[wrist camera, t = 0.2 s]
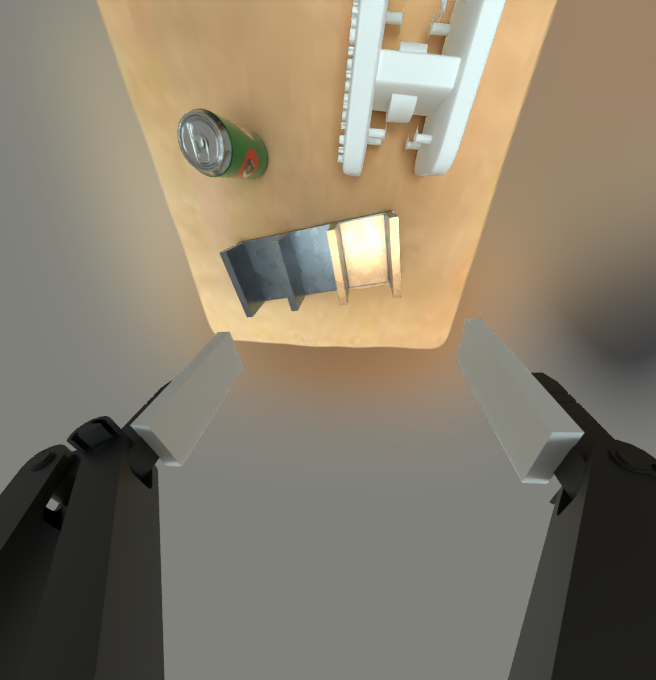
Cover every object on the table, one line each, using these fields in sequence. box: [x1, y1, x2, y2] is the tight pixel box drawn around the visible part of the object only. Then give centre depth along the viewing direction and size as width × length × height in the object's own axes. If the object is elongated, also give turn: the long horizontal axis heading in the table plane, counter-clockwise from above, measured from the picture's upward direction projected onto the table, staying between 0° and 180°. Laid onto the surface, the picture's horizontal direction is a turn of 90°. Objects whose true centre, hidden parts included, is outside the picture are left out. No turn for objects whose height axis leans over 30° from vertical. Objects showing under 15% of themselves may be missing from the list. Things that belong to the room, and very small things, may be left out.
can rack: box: [220, 210, 401, 317], centre depth 35 cm, size 10×24×7 cm, turn 102°
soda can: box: [178, 109, 268, 179], centre depth 27 cm, size 5×5×12 cm
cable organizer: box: [338, 0, 506, 177], centre depth 23 cm, size 15×11×12 cm
